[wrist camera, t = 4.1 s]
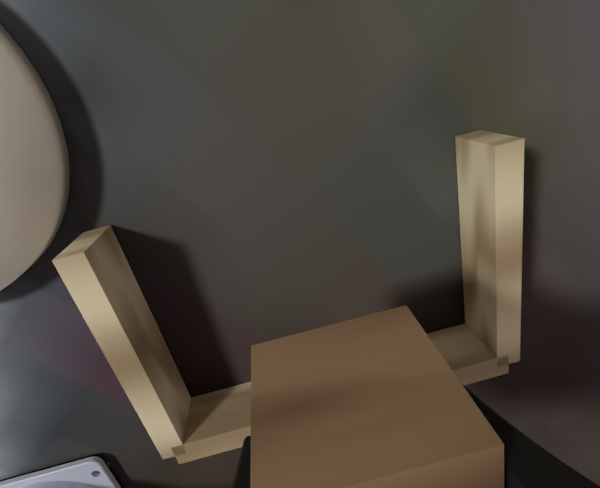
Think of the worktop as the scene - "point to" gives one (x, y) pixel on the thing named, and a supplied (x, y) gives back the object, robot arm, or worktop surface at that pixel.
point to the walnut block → (366, 411)
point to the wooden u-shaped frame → (237, 399)
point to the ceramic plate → (28, 164)
